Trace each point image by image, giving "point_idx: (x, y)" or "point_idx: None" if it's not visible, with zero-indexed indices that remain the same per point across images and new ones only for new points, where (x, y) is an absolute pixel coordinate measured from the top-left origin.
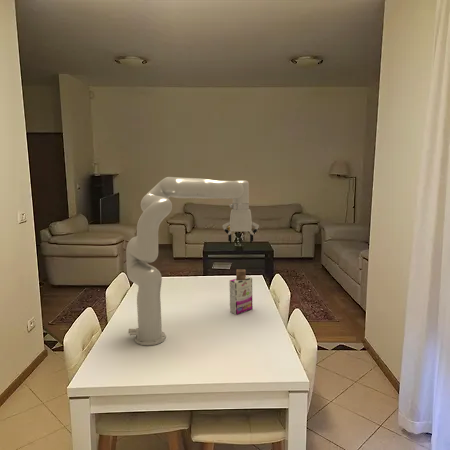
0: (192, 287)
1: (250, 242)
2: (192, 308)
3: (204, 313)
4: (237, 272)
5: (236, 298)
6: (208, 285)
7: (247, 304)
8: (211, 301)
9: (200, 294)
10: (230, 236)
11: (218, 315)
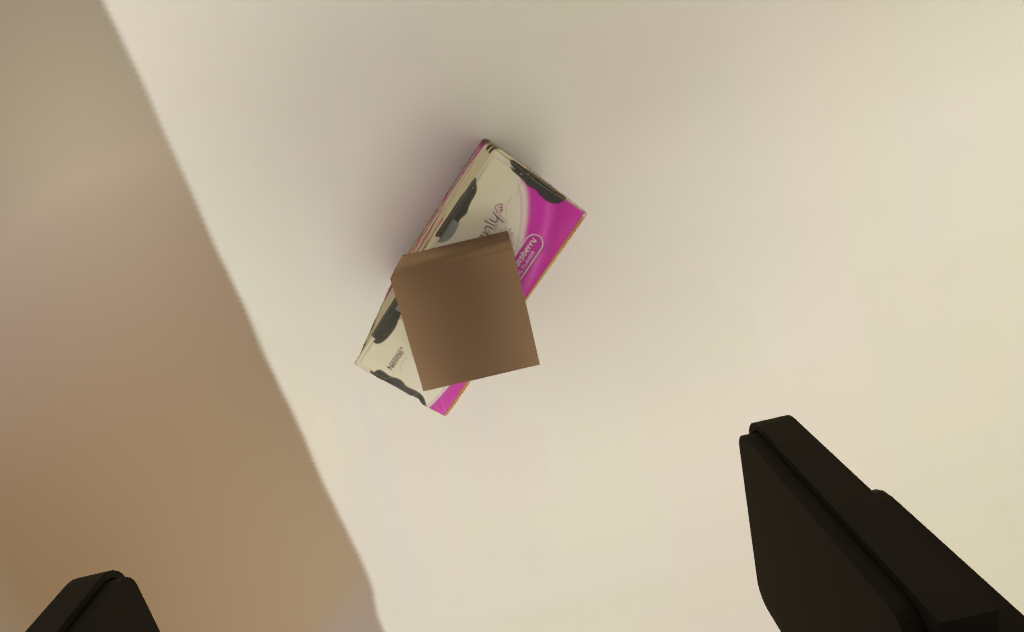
0: None
1: (109, 586)
2: (831, 186)
3: (725, 113)
4: (498, 251)
5: (485, 145)
6: None
7: (417, 242)
8: (720, 348)
9: None
10: (913, 570)
11: (614, 100)
